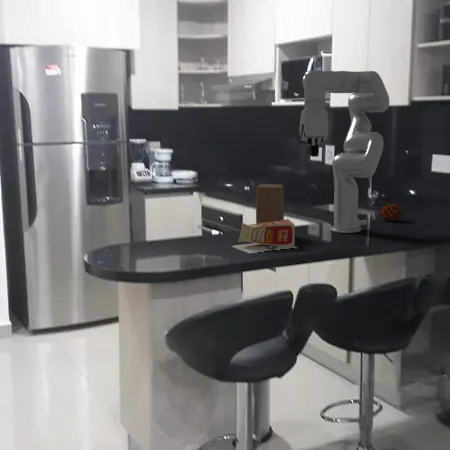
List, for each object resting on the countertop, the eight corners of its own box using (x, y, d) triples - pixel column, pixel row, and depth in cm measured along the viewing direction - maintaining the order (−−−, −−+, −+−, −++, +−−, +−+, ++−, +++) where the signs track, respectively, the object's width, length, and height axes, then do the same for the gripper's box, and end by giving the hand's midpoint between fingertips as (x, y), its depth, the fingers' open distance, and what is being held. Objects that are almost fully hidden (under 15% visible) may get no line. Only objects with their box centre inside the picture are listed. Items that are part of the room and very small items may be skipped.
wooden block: (281, 238, 250) (281, 187, 247) (255, 237, 252) (255, 186, 249) (284, 233, 260) (284, 184, 257) (259, 232, 262) (259, 184, 259)
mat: (278, 241, 244) (278, 240, 244) (298, 248, 232) (298, 247, 232) (231, 246, 236) (231, 245, 236) (248, 253, 223) (248, 253, 223)
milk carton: (294, 245, 236) (242, 249, 230) (284, 240, 244) (234, 244, 238) (294, 220, 234) (242, 224, 228) (284, 217, 243) (234, 220, 237)
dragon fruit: (400, 226, 280) (380, 226, 291) (410, 213, 284) (389, 214, 294) (391, 212, 277) (370, 212, 288) (401, 199, 281) (380, 200, 291)
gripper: (326, 105, 240) (325, 155, 244) (291, 106, 234) (291, 156, 237) (337, 105, 234) (337, 156, 237) (302, 105, 227) (302, 157, 231)
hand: (314, 156), depth 237 cm, fingers closed
